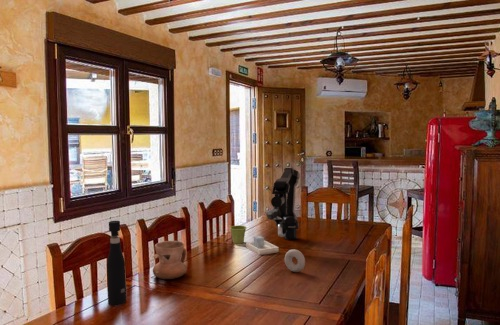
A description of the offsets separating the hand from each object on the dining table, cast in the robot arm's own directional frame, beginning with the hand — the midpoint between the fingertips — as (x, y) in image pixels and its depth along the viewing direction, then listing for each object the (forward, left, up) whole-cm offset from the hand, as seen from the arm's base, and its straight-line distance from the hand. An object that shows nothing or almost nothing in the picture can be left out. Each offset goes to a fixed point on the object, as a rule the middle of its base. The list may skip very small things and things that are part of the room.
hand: (281, 233), depth 216 cm
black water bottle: (+89, +32, -8) cm, 95 cm away
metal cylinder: (0, 0, -1) cm, 1 cm away
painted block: (+11, -6, -7) cm, 14 cm away
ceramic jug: (+64, +14, -8) cm, 66 cm away
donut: (+14, +35, -8) cm, 38 cm away
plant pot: (+16, -21, -8) cm, 28 cm away
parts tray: (+11, -2, -8) cm, 14 cm away
